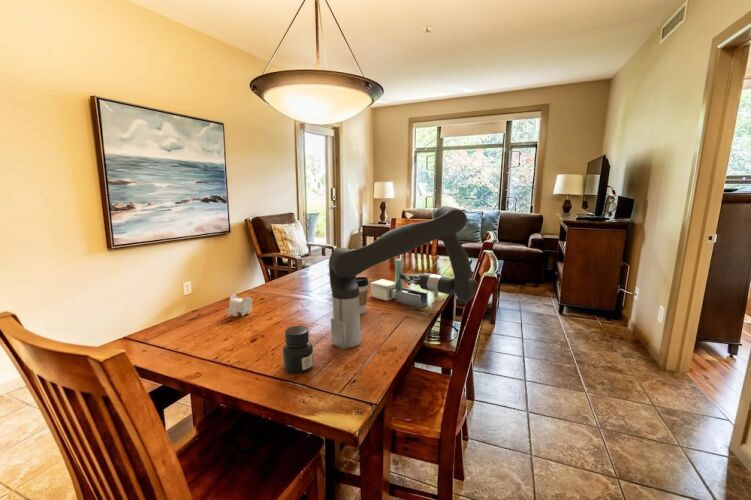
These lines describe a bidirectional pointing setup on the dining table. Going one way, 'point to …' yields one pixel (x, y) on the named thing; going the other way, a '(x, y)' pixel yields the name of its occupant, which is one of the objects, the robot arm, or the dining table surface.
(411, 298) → the sleeve
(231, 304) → the elephant figurine
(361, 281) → the coffee cup
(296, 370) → the ink bottle
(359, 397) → the dining table surface
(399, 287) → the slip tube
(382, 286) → the socket
